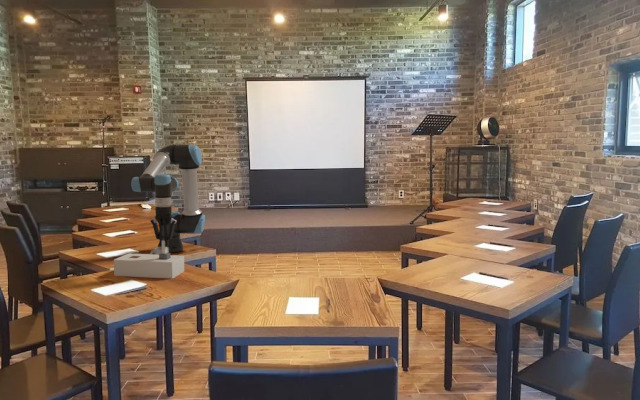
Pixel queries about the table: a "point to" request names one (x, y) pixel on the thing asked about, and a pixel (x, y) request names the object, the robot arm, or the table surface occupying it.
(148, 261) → the grey rectangular block
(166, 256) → the charcoal peg
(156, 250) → the cup
